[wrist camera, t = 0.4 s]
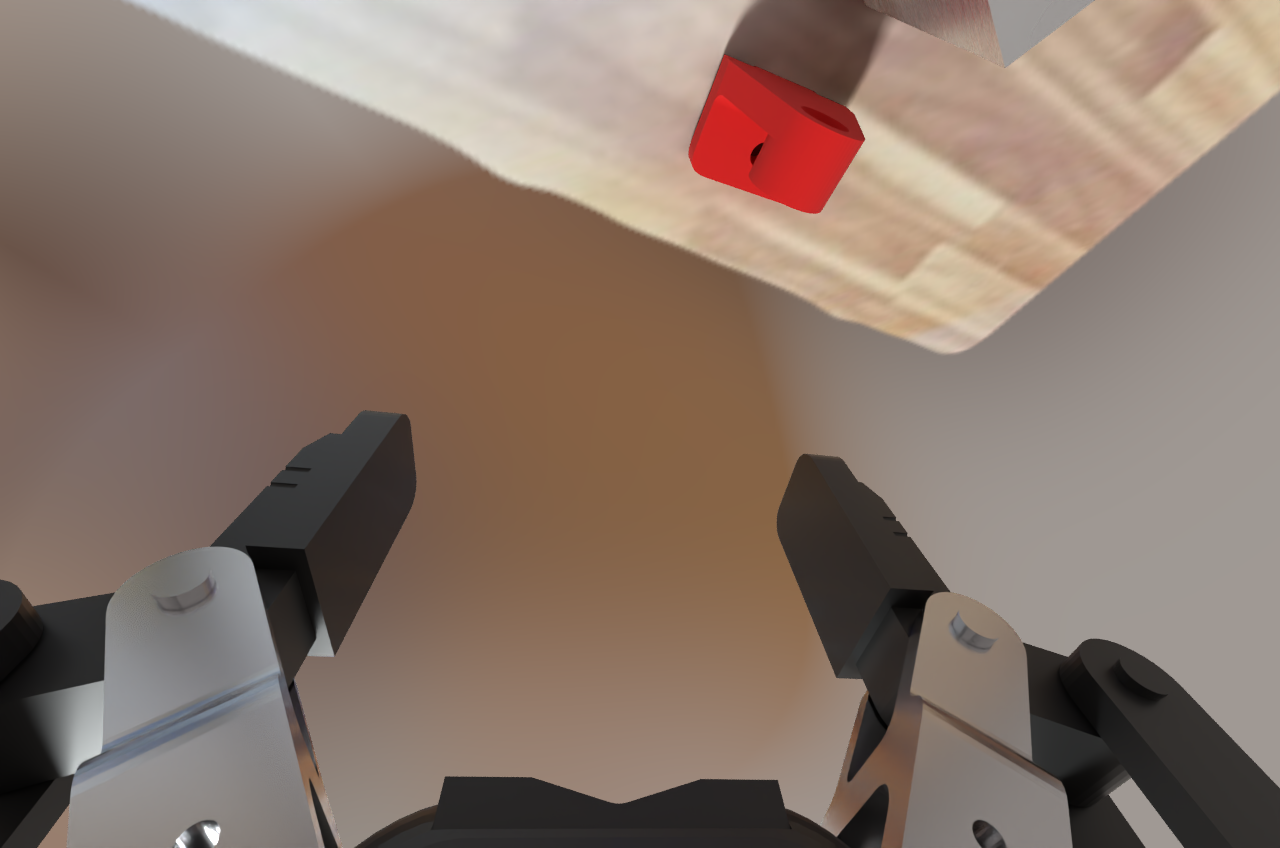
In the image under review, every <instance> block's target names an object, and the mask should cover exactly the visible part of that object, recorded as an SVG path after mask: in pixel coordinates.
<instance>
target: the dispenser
mask: <svg viewBox="0 0 1280 848" xmlns="http://www.w3.org/2000/svg"><path fill="white" fill-rule="evenodd" d="M863 1H864V3H865V5H866V6H868V7H870V8H873V9H875V10H877V11H879V12H881V13H884V14H886V15H888V16H890V17H893V18H895V19H897V20H899V21H902V22H904V23H906V24H908V25H910V26H913V27H915V28H917V29H919V30H922V31H924V32H926V33H928V34H930V35H933V36H935V37H937V38H939V39H942V40H944V41H946V42H948V43H950V44H953V45H955V46H957V47H959V48H962V49H964V50H966V51H968V52H970V53H973V54H975V55H977V56H979V57H982V58H984V59H986V60H988V61H991V62H993V63H995V64H997V65H999V66H1002V67H1004V68H1006V67H1007V66H1009V65H1010V64H1011V63H1013V62H1014V61H1015V60H1016V59H1018V58H1019V57H1020V56H1022V55H1023V54H1024V53H1026V52H1027V51H1028V50H1030V49H1031V48H1032V47H1034V46H1035V45H1036V44H1038V43H1039V42H1040V41H1042V40H1043V39H1044V38H1045V37H1047V36H1048V35H1049V34H1051V33H1052V32H1053V31H1055V30H1056V29H1057V28H1059V27H1060V26H1061V25H1063V24H1064V23H1065V22H1067V21H1068V20H1069V19H1071V18H1072V17H1073V16H1074V15H1076V14H1077V13H1078V12H1080V11H1081V10H1082V9H1084V8H1085V7H1086V6H1088V5H1089V4H1090V3H1092V2H1093V1H1094V0H863Z"/></svg>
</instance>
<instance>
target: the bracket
mask: <svg viewBox="0 0 1280 848" xmlns="http://www.w3.org/2000/svg"><path fill="white" fill-rule="evenodd" d="M864 141H865V137H864V135H863V133H862V130H861V128H860V126H859V124H858V121H857V119H856V117H855V115H854V114H853V113H852V112H851V111H850V110H849V109H848V108H846V107H845V106H843V105H841V104H838V103H836V102H834V101H831V100H829V99H827V98H825V97H822V96H820V95H818V94H816V93H815V92H814V91H812V90H809V89H807V88H805V87H802V86H800V85H798V84H796V83H793V82H791V81H789V80H786V79H784V78H782V77H779V76H777V75H775V74H772V73H770V72H768V71H766V70H763V69H761V68H759V67H756V66H754V67H753V66H751V65H748V64H746V63H744V62H741V61H739V60H737V59H734V58H732V57H730V56H728V55H725V54H724V57H723V59H722V62H721V65H720V67H719V70H718V72H717V75H716V78H715V80H714V83H713V86H712V88H711V91H710V93H709V96H708V99H707V101H706V104H705V106H704V109H703V112H702V114H701V117H700V120H699V122H698V125H697V127H696V130H695V133H694V135H693V138H692V141H691V144H690V147H689V158H690V161H691V164H692V166H693V169H694V170H695V171H696V172H697V173H698V174H700V175H702V176H704V177H706V178H709V179H712V180H715V181H718V182H721V183H724V184H727V185H730V186H732V187H735V188H738V189H741V190H744V191H747V192H750V193H753V194H756V195H759V196H761V197H764V198H767V199H770V200H773V201H776V202H779V203H782V204H784V205H786V206H789V207H791V208H793V209H796V210H799V211H802V212H806V213H813V214H816V213H820V212H821V211H822V209H823V207H824V206H825V204H826V203H827V201H828V199H829V198H830V196H831V194H832V193H833V191H834V189H835V188H836V186H837V185H838V183H839V181H840V180H841V178H842V176H843V175H844V173H845V172H846V170H847V168H848V167H849V165H850V163H851V162H852V160H853V159H854V157H855V155H856V154H857V152H858V150H859V149H860V147H861V145H862V144H863V142H864ZM761 143H764V144H763V146H762V148H761V150H760V152H759V154H758V155H756V156H751V152H752V150H753V149H754V148H755V147H756V146H757V145H758V144H761Z"/></svg>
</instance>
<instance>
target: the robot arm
mask: <svg viewBox="0 0 1280 848" xmlns="http://www.w3.org/2000/svg"><path fill="white" fill-rule="evenodd" d="M415 492H416V470H415V461H414V453H413V442H412V434H411V424H410V420H409V418H408V416H407V415H406V414H397V413H387V412H377V411H367V410H365V411H362V412H361V413H359V414H358V416H357V417H356V418H355V419H354V420H353V421H352V422H351V424H350V425H349V426H348V427H347V428H346V430H345V431H344V432H343V433H342V434H333V433H330V434H328V435H326V436H324V437H322V438H321V439H319V440H317V441H315V442H313V443H311V444H310V445H308V446H306V447H304V448H303V449H302V450H301V451H300V452H299V453H298V454H297V455H296V456H295V457H294V458H293V459H292V460H291V462H289V463H288V465H287V466H286V470H282V471H281V472H280V473H279V474H278V475H277V476H276V477H275V478H274V479H273V480H272V481H271V485H270V487H269V486H267V487H266V488H265V489H264V490H263V491H262V492H261V493H260V494H259V495H258V496H257V497H256V498H255V499H254V500H253V502H252V503H251V504H250V505H249V506H248V507H247V508H246V509H245V510H244V511H243V512H242V513H241V514H240V515H239V516H238V517H237V518H236V519H235V520H234V522H233V523H232V524H231V525H230V526H229V527H228V528H227V529H226V530H225V531H224V532H223V533H222V534H221V535H220V536H219V537H218V538H217V540H215V542H214V543H213V544H212V545H211V546H210V547H205V548H198V549H192V550H188V551H185V552H181V553H178V554H175V555H172V556H169V557H166V558H164V559H162V560H160V561H157V562H155V563H154V564H152V565H150V566H148V567H146V568H144V569H143V570H141V571H140V572H138V573H136V574H135V575H134V576H132V577H131V578H130V579H129V580H127V581H126V582H125V583H124V584H123V585H122V586H121V587H120V588H119V589H118V590H117V591H116V592H115V593H110V594H104V595H98V596H92V597H86V598H80V599H74V600H68V601H63V602H56V603H50V604H44V605H38V606H32V605H31V603H30V602H29V601H28V599H27V598H26V597H25V595H24V594H23V593H22V591H21V590H20V589H19V588H18V587H17V586H16V585H14V584H13V583H11V582H8V581H4V580H0V848H37V847H38V846H39V845H40V843H41V842H42V840H43V839H44V838H45V836H46V835H47V834H48V832H49V831H50V829H51V828H52V827H53V826H54V824H55V823H56V821H57V820H58V819H59V817H60V816H61V815H62V813H63V812H64V811H65V809H66V808H67V806H68V805H69V804H70V807H69V823H68V836H67V848H343V846H342V843H341V839H340V836H339V832H338V829H337V826H336V823H335V819H334V816H333V813H332V810H331V807H330V804H329V801H328V797H327V794H326V791H325V787H324V784H323V780H322V776H321V773H320V769H319V765H318V762H317V758H316V754H315V751H314V747H313V743H312V740H311V736H310V732H309V729H308V725H307V722H306V718H305V714H304V710H303V707H302V703H301V699H300V696H299V692H298V688H297V685H296V682H295V679H294V677H295V676H296V674H297V672H298V670H299V668H300V667H301V665H302V663H303V661H304V660H305V658H306V656H331V657H334V656H335V654H336V653H337V651H338V649H339V647H340V645H341V643H342V641H343V639H344V637H345V635H346V633H347V631H348V629H349V628H350V626H351V624H352V622H353V620H354V618H355V616H356V614H357V612H358V610H359V608H360V606H361V604H362V602H363V600H364V599H365V597H366V595H367V593H368V591H369V589H370V587H371V585H372V583H373V581H374V579H375V577H376V575H377V573H378V571H379V570H380V568H381V566H382V564H383V562H384V560H385V558H386V556H387V554H388V552H389V550H390V548H391V546H392V544H393V542H394V540H395V538H396V537H397V535H398V533H399V531H400V529H401V527H402V525H403V523H404V521H405V519H406V517H407V515H408V513H409V511H410V509H411V507H412V504H413V501H414V497H415ZM777 532H778V536H779V539H780V541H781V544H782V546H783V549H784V551H785V554H786V556H787V559H788V560H789V563H790V566H791V568H792V571H793V573H794V576H795V578H796V580H797V583H798V585H799V587H800V590H801V592H802V595H803V597H804V600H805V602H806V604H807V607H808V610H809V612H810V615H811V617H812V619H813V622H814V624H815V627H816V629H817V632H818V634H819V636H820V639H821V641H822V644H823V646H824V648H825V651H826V653H827V656H828V658H829V661H830V663H831V665H832V668H833V670H834V673H835V675H836V678H850V679H851V678H852V679H863V681H864V683H865V685H866V688H867V691H866V693H865V694H864V696H863V697H862V699H861V702H860V705H859V708H858V712H857V716H856V719H855V723H854V726H853V730H852V733H851V738H850V741H849V744H848V748H847V751H846V755H845V759H844V762H843V766H842V769H841V773H840V777H839V780H838V784H837V787H836V791H835V793H834V796H833V799H832V802H831V804H830V806H829V808H828V810H827V812H826V814H825V816H824V818H823V820H822V822H821V824H820V825H818V824H817V823H815V822H813V821H811V820H810V819H808V818H806V817H804V816H802V815H800V814H798V813H795V812H793V811H791V810H789V809H785V807H784V803H783V799H782V795H781V791H780V787H779V784H778V780H726V779H725V780H724V779H700V780H697V781H694V782H691V783H688V784H684V785H681V786H678V787H675V788H672V789H669V790H666V791H662V792H659V793H656V794H653V795H650V796H647V797H643V798H640V799H637V800H634V801H631V802H628V803H623V804H615V803H610V802H607V801H604V800H600V799H597V798H594V797H591V796H588V795H585V794H582V793H579V792H576V791H573V790H570V789H566V788H563V787H560V786H557V785H554V784H551V783H548V782H545V781H542V780H538V779H535V778H532V777H528V778H527V777H445V779H444V783H443V787H442V791H441V795H440V800H439V803H438V805H435V806H432V807H428V808H425V809H422V810H420V811H417V812H415V813H413V814H410V815H408V816H406V817H403V818H401V819H399V820H397V821H395V822H393V823H392V824H390V825H388V826H386V827H385V828H383V829H381V830H379V831H378V832H376V833H375V834H373V835H372V836H370V837H369V838H367V839H366V840H365V841H363V842H362V843H360V844H359V845H357V846H356V847H355V848H1145V846H1144V845H1143V844H1142V842H1141V841H1140V839H1139V838H1138V836H1137V835H1136V833H1135V832H1134V831H1133V829H1132V828H1131V826H1130V825H1129V823H1128V822H1127V821H1126V819H1125V818H1124V816H1123V815H1122V813H1121V812H1120V811H1119V809H1118V808H1117V806H1116V805H1115V803H1114V802H1113V801H1112V799H1111V798H1110V796H1109V795H1108V794H1110V793H1111V792H1112V791H1114V790H1115V789H1116V788H1118V787H1119V786H1121V785H1122V784H1123V783H1125V782H1126V781H1127V780H1129V779H1130V778H1132V779H1133V780H1134V782H1135V783H1136V784H1137V786H1138V787H1139V788H1140V790H1141V791H1142V792H1143V794H1144V795H1145V796H1146V798H1147V799H1148V800H1149V801H1150V803H1151V804H1152V805H1153V807H1154V808H1155V809H1156V811H1157V812H1158V813H1159V815H1160V816H1161V817H1162V819H1163V820H1164V821H1165V823H1166V824H1167V825H1168V827H1169V828H1170V829H1171V831H1172V832H1173V833H1174V835H1175V836H1176V837H1177V839H1178V840H1179V841H1180V843H1181V844H1182V845H1183V847H1184V848H1280V788H1279V787H1278V786H1277V785H1276V784H1275V783H1274V782H1273V781H1272V780H1271V779H1270V778H1269V777H1268V776H1267V775H1266V774H1265V773H1264V772H1263V770H1262V769H1261V768H1260V767H1259V766H1258V765H1257V764H1256V763H1255V762H1254V761H1253V760H1252V759H1251V758H1250V757H1249V756H1248V755H1247V754H1246V753H1245V752H1244V751H1243V750H1242V749H1241V748H1240V747H1239V746H1238V745H1237V744H1236V743H1235V742H1234V740H1232V738H1231V737H1230V736H1229V735H1228V734H1227V733H1226V732H1225V731H1224V730H1223V729H1222V728H1221V727H1220V726H1219V725H1218V724H1217V723H1216V722H1215V721H1214V720H1213V719H1212V718H1211V717H1210V716H1209V715H1208V714H1207V713H1206V712H1205V711H1204V709H1203V708H1202V707H1201V706H1200V705H1199V704H1198V703H1197V702H1196V701H1195V700H1194V699H1193V698H1192V697H1191V696H1190V695H1189V694H1188V693H1187V692H1186V691H1185V690H1184V689H1183V688H1182V687H1181V686H1180V685H1179V684H1178V683H1177V682H1176V681H1175V680H1174V679H1173V678H1172V677H1171V676H1169V675H1168V674H1167V673H1166V672H1164V671H1163V670H1162V669H1161V668H1160V667H1158V666H1157V665H1155V664H1154V663H1153V662H1151V661H1149V660H1148V659H1146V658H1145V657H1143V656H1142V655H1140V654H1138V653H1136V652H1134V651H1132V650H1130V649H1128V648H1126V647H1124V646H1122V645H1119V644H1117V643H1114V642H1111V641H1107V640H1102V639H1088V640H1086V641H1084V642H1082V643H1081V644H1080V645H1079V647H1078V648H1077V649H1076V650H1075V651H1074V652H1073V653H1072V654H1071V655H1070V656H1069V657H1066V656H1063V655H1060V654H1057V653H1054V652H1051V651H1047V650H1044V649H1041V648H1038V647H1035V646H1032V645H1029V644H1025V643H1023V642H1022V641H1021V639H1020V637H1019V636H1018V635H1017V633H1016V632H1015V631H1014V629H1013V628H1012V627H1011V626H1010V625H1009V624H1008V623H1007V622H1006V621H1005V620H1004V619H1003V618H1002V617H1000V616H999V615H998V614H997V613H995V612H994V611H993V610H991V609H990V608H988V607H986V606H985V605H983V604H982V603H979V602H978V601H976V600H973V599H971V598H969V597H966V596H964V595H961V594H956V593H951V592H950V591H949V590H948V588H947V587H946V585H945V584H944V583H943V581H942V580H941V578H940V577H939V576H938V574H937V573H936V572H935V570H934V569H933V567H932V566H931V565H930V563H929V562H928V561H927V559H926V558H925V557H924V555H923V554H922V552H921V551H920V550H919V548H918V547H917V546H916V544H915V543H914V541H913V540H912V539H911V537H907V532H906V531H905V529H904V528H903V526H902V525H901V524H900V522H899V521H896V517H895V516H894V514H893V513H892V511H891V510H890V509H889V507H888V506H887V505H886V503H885V502H884V500H883V499H882V498H881V497H879V496H878V495H877V494H876V493H874V492H873V491H872V490H871V489H869V488H868V487H867V486H865V485H864V484H863V483H861V482H858V481H857V479H856V478H855V477H854V475H853V474H852V472H851V471H850V469H849V468H848V467H847V465H846V464H845V462H844V461H843V460H842V459H841V458H839V457H833V456H823V455H811V454H803V455H802V456H800V457H799V459H798V460H797V463H796V465H795V468H794V470H793V473H792V476H791V478H790V481H789V484H788V486H787V488H786V491H785V494H784V496H783V499H782V502H781V504H780V507H779V510H778V514H777Z"/></svg>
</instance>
